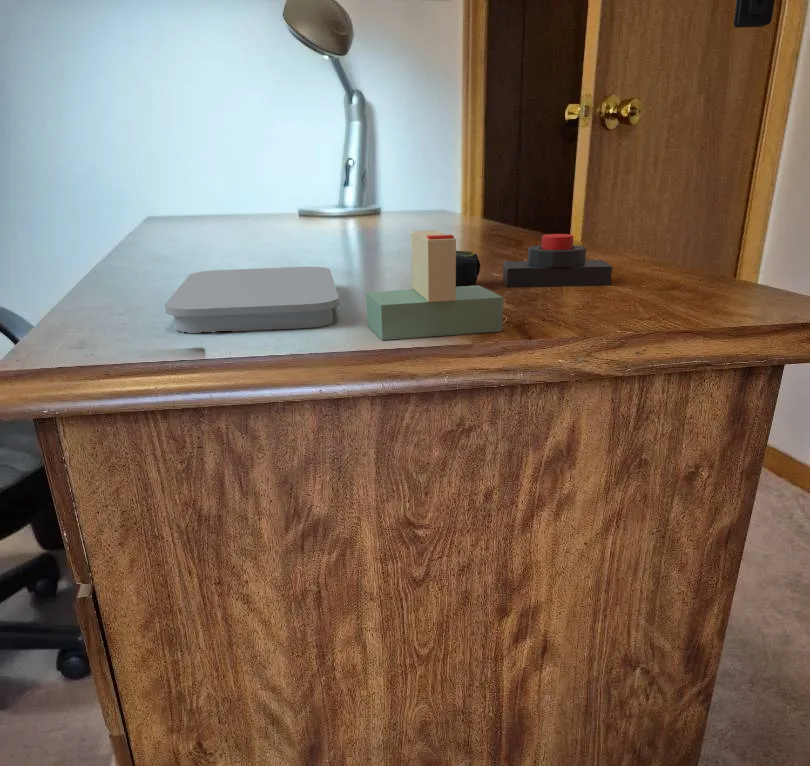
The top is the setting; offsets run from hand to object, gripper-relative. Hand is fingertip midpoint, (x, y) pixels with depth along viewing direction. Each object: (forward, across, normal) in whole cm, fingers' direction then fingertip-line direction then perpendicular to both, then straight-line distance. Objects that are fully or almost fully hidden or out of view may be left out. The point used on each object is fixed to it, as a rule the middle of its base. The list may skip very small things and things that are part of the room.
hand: (751, 25), depth 79 cm
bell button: (+22, -4, -17) cm, 28 cm away
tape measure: (+25, -2, -30) cm, 39 cm away
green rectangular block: (+25, +21, -32) cm, 46 cm away
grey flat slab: (+25, +9, -51) cm, 57 cm away
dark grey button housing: (+25, -4, -18) cm, 31 cm away
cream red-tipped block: (+22, +21, -32) cm, 44 cm away
